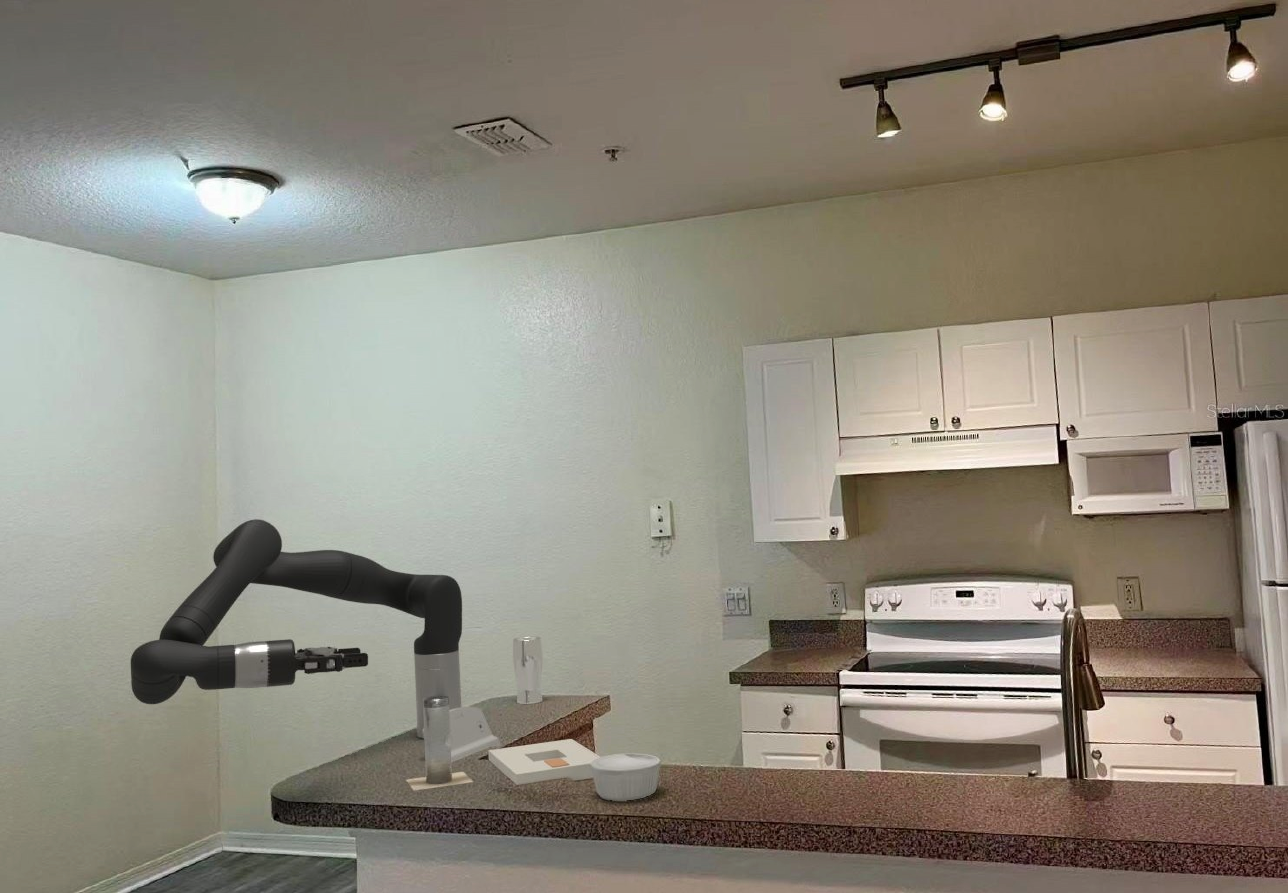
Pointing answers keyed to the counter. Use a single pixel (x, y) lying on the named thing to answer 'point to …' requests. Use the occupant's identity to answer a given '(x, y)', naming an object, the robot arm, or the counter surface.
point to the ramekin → (625, 776)
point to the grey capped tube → (437, 739)
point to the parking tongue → (421, 784)
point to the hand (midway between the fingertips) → (363, 656)
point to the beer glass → (528, 669)
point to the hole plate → (544, 761)
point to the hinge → (469, 732)
